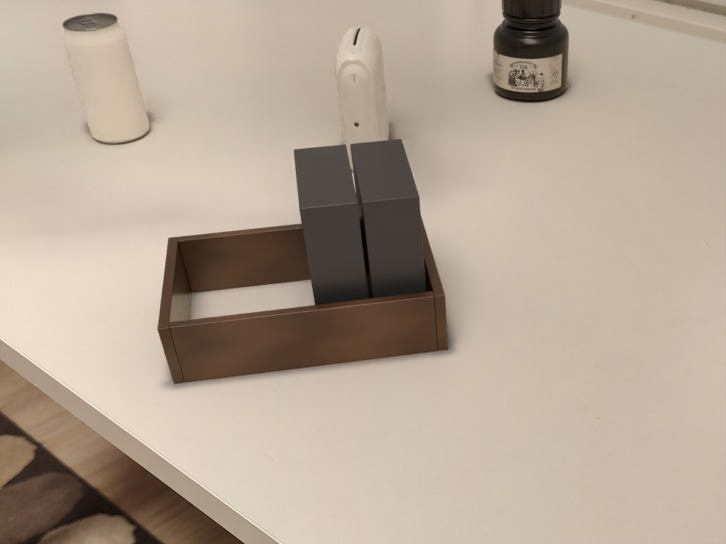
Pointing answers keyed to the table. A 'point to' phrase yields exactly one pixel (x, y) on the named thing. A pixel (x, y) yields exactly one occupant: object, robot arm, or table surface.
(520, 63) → the ink bottle
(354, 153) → the charcoal box
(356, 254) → the charcoal box
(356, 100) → the photo printer
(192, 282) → the brown wooden tray
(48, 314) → the table surface
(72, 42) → the can
